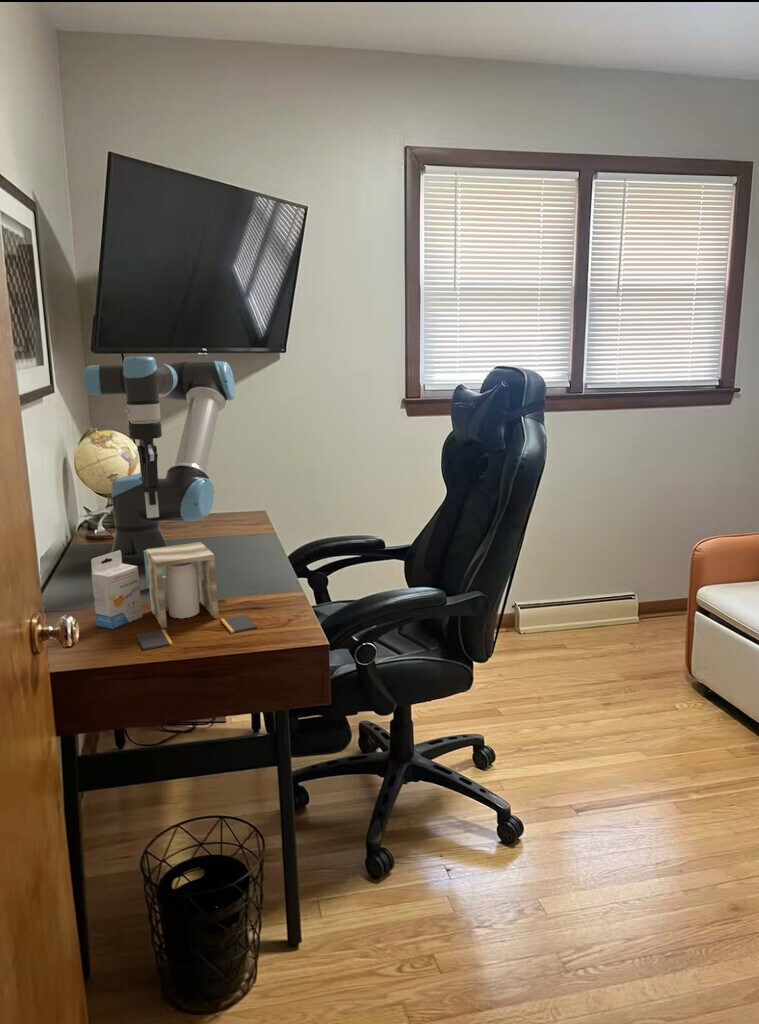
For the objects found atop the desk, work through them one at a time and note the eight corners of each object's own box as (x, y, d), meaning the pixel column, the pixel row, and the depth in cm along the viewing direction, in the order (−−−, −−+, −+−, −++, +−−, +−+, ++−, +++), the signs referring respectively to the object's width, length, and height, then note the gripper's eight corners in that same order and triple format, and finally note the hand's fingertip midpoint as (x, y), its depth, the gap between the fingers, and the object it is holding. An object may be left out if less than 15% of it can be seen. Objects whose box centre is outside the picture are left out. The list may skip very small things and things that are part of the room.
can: (179, 608, 168) (175, 556, 165) (205, 610, 166) (201, 558, 163) (163, 618, 162) (158, 565, 159) (189, 620, 160) (185, 567, 157)
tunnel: (151, 610, 166) (145, 549, 163) (205, 601, 172) (200, 541, 168) (162, 628, 156) (156, 562, 153) (218, 617, 161) (214, 554, 158)
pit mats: (136, 636, 152) (136, 634, 152) (246, 616, 162) (246, 614, 162) (143, 650, 145) (143, 648, 145) (257, 628, 155) (257, 626, 155)
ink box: (113, 630, 156) (105, 562, 152) (96, 626, 158) (88, 559, 155) (143, 616, 163) (137, 551, 160) (127, 613, 165) (120, 549, 162)
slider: (146, 586, 182) (143, 550, 180) (180, 581, 185) (177, 546, 183) (162, 609, 166) (158, 570, 164) (198, 603, 169) (195, 565, 167)
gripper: (124, 420, 184) (133, 513, 189) (132, 424, 173) (142, 524, 178) (155, 418, 187) (163, 510, 193) (165, 422, 176) (173, 520, 181)
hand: (153, 516), depth 185 cm, fingers closed
